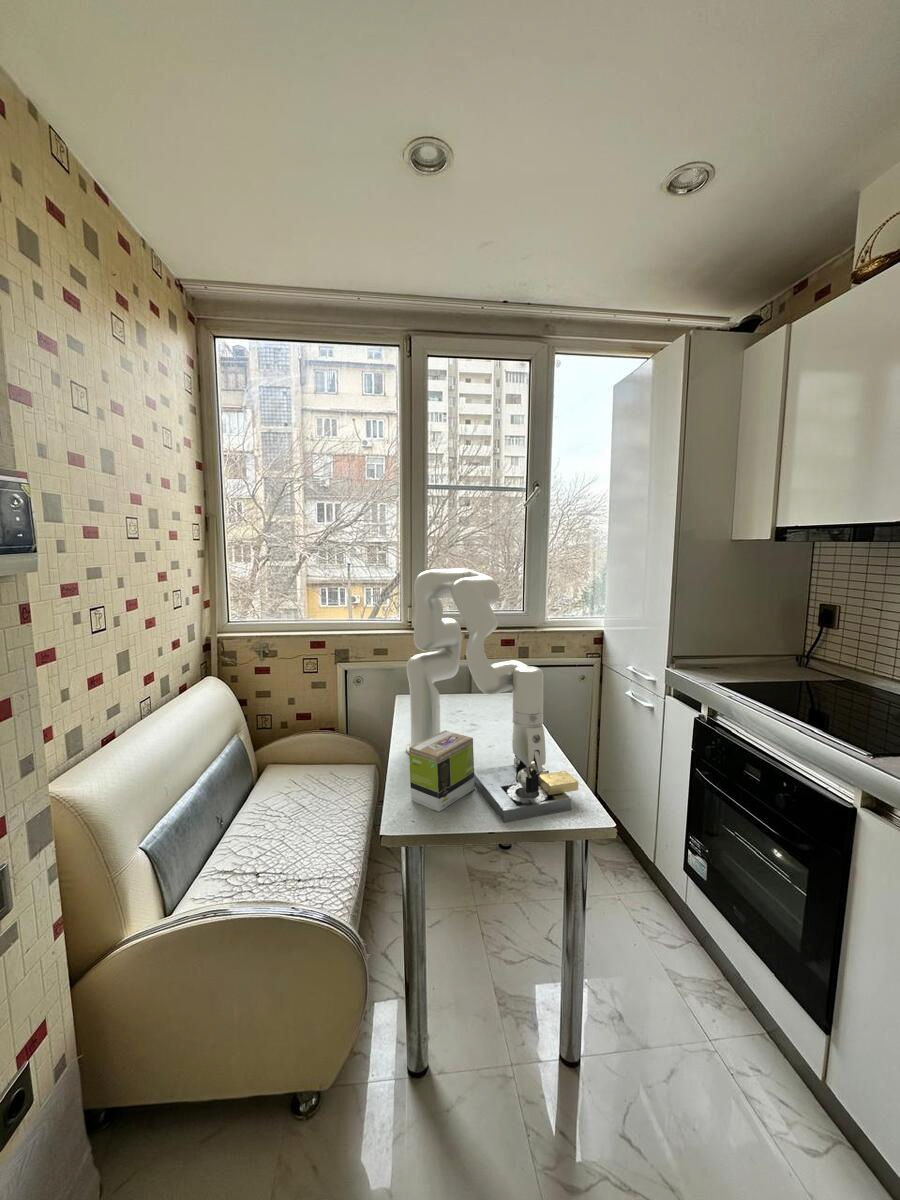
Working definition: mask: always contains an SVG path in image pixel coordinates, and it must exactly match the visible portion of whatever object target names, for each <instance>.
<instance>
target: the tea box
mask: <svg viewBox="0 0 900 1200" xmlns="http://www.w3.org/2000/svg"><path fill="white" fill-rule="evenodd" d="M408 755H409V774H410V775H409V779H410V782H409V784H410V800H411V801H412V802H414V803H417V804H419V805H421V806H424V807H426V808H429V809H431V810H433V811H435V812H441V811H443V810H444V809H446V808H447V807H449V806H450V805H452V804H454V803H455V802H456V801H458V800H460V799H462V798H463V797H464V796H466V795H467V794H469V793H471V792H472V791H474V790H475V784H474V771H475V759H474V757H475V756H474V738H473V737H471V736H468V735H463V734H459V733H456V732H452V731H449V730H443V731H440V733H439V734H437V735H435V736H432V737H430V738H428V739H426V740H424V741H422V742H420V743H417V744H415V745H414V746H411V747H409V753H408Z"/></svg>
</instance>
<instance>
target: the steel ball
mask: <svg viewBox="0 0 900 1200" xmlns="http://www.w3.org/2000/svg"><path fill="white" fill-rule="evenodd" d="M532 770H533V769H531V771H532ZM526 777H528V776H527V767H526V768H523V769H521V770H520V771H519V773H518V776H517V779H518V782H519V784H520V785H521V786H522V787H523V788H526Z"/></svg>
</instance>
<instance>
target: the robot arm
mask: <svg viewBox="0 0 900 1200" xmlns="http://www.w3.org/2000/svg"><path fill="white" fill-rule="evenodd" d="M413 584H414V585H413V592H414V593H413V595H414V600H415V613H414V625H413V644H414V646H415V647H416V649H418V650H420V651H426V652H422V653H417V654H415V655H413V656H411V657H410V658H409V659H408V660H407V662H406V667H405V668H406V675H407V680H408V686H409V704H410V705H409V707H410V709H409V712H410V742H408V744H406V747H405V748H406V749H405V750H406V753H407V754H409V747H411V746H414V745H415V744H417V743H420V742H422V741H424V740H426V739H428V738H430V737H432V736H435V735H437V734H439V733H441V696H440V693H439V691H438V689H437V687H436V686H435V684H434V683H435V682H438V681H439V682H440V681H443V680H448V679H452V678H454V677H455V676H456V675H457V673H458V672H459V668H460V660H461V650H462V641H463V634H462V630H461V625H460V624H459V622H458V621H457V620H456V619H454V618H451V617H443V614H444V607H443V603H442V602H441V598H452V599H453V602H454V605H455V606H456V608H457V611H458V613H459V615H460V617H461V619H462V621H463V624H464V626H465V628H466V631H467V632H468V636H469V637H468V640H467V644H466V649H465V651H466V653H465V654H466V656H465V657H466V665H467V667H468V670H469V671H470V675H471V676H472V679H473V681H474V682H475V685H476V686H477V688H478V689H479V690H480V691H481V692H482V693H483V694H486V695H497V694H500V693H504V692H508V691H509V692H510V691H512V724H513V725H512V740H511V742H512V752H513V754H514V758H516V766H517V767H516V781H517V783H519V782H518V779H517V776H518V773H519V771H520V770H521V769H523V768H526V767H527V776H528V777H526V792H527V793H532V792H537V791H538V790H539V776H540V773H542V772H543V767H542V765H543V766H545V765H546V762H547V760H546V756H547V755H546V739H545V738H546V737H545V729H544V726H543V724H544V684H545V683H544V679H545V678H544V677H545V675H544V671H543V670H542V669H541V668H539V667H537V666H534V665H533V666H532V665H527V664H526V663H524V662H522V661H520V660H516V659H510V660H504V661H499V662H493V663H490V661H489V659H488V657H487V655H486V652H485V646H484V645H485V639H486V638H487V637H488V636H489V635H491V634H492V633H493V632H494V631H496V629H497V627H498V626H499V621H498V619H497V617H496V615H495V613H494V611H493V609H492V606H491V605H495V604H496V603H497V602H498V601H499V598H500V592H501V591H500V587H499V584H498V583H497V581H496V580H495V579H494V578H492V577H491V576H489V575H486V574H484V573H480V572H477V571H475V570H472V569H469V568H438V569H436V568H435V569H429V570H425V571H422V572H420V573H419V574H418V575H417V577H416V578H415V581H414V583H413ZM433 650H436V651H433ZM427 651H428V652H427ZM531 762H534V764H531ZM531 767H535V769H534V770H532V771H531Z"/></svg>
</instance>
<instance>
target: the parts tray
mask: <svg viewBox="0 0 900 1200" xmlns="http://www.w3.org/2000/svg"><path fill="white" fill-rule="evenodd" d="M513 765H514V766H515V767H517V766H516V757H514V758H513ZM542 767H543V772H542V773H540V775H541V774H548V773H550V771H549V769H548V768H546V766H545V765H542Z"/></svg>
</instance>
